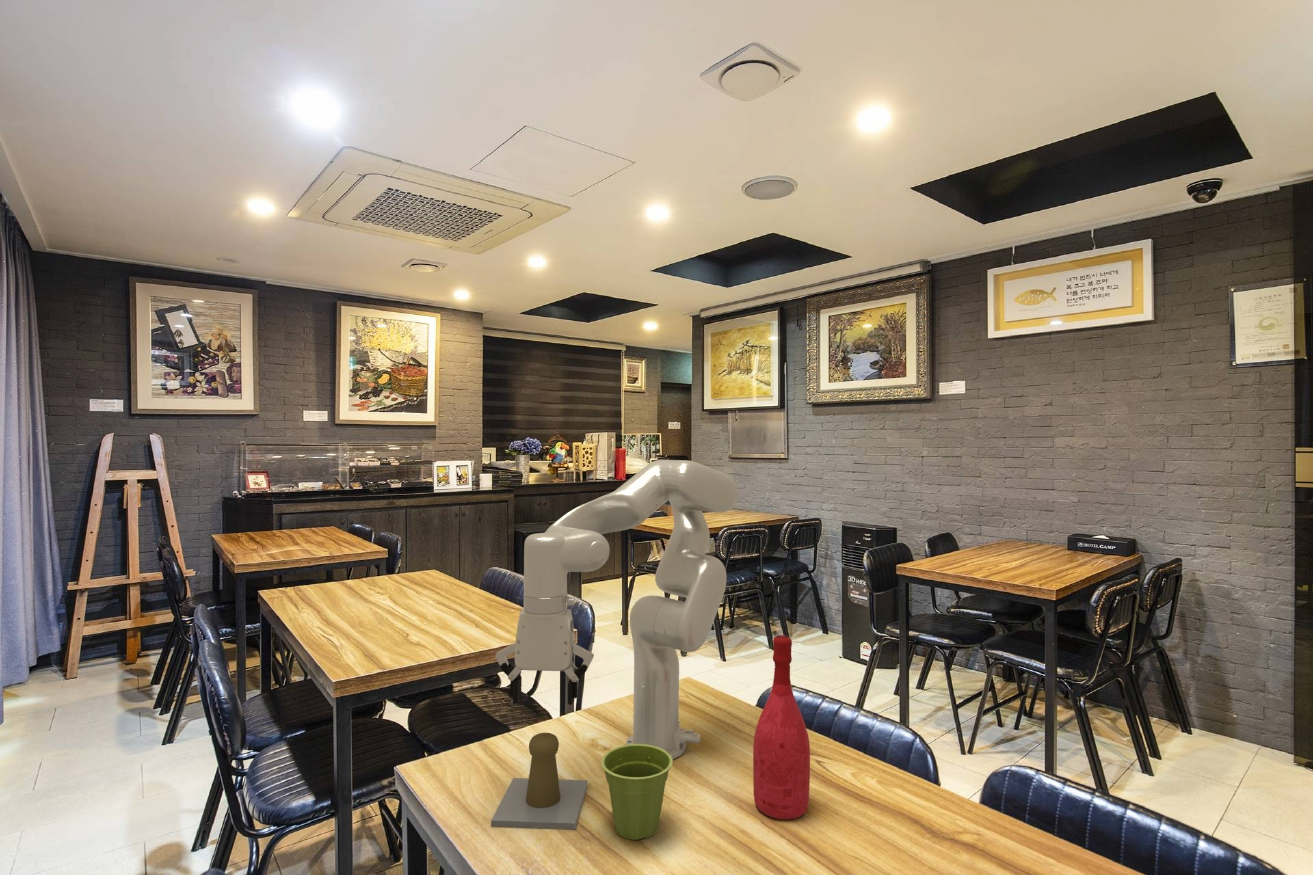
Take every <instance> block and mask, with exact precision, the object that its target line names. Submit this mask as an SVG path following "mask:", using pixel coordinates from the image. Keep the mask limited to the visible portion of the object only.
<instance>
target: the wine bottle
mask: <svg viewBox="0 0 1313 875" xmlns="http://www.w3.org/2000/svg"><path fill="white" fill-rule="evenodd" d="M772 643H773V644H772V645H773V655H772V661H773V662H774V672H773V681H772V687H771V691H770V694H769V696H768V699H767V701H766V703H765V705H764V707H763V709H762V711H761V713H760V716H759V719H758V721H757V724H756V727H755V732H754V735H753V736H754V738H753V746H752V747H753V751H752V752H753V754H752V757H753V758H752V761H753V762H752V766H753V767H752V768H753V769H752V771H753V772H752V775H753V776H752V778H753V780H752V781H753V800H754V804H755V806H756V808H757V809H758V810H759V811H760V812H762V814H764V815H765V816H768V817H771V818H772V819H773V818H774V819H779V820H792V819H793V820H794V819H797V818H800V817H801V816H803V815H805V813H806V812H807V810H808V809H809V808H808V807H809V800H810V784H811V782H810V777H811V774H810V773H811V745H810V738H809V735H808V730H807V726H806V722H805V721H804V720H805V719H804V718H803V715H802V713H801V710H800V707H799V706H798V703H797V701H796V698H795V696H794V692H793V691H794V690H793V687H792V682H791V663H792V660H793V658H792V657H793V656H792V645H793V640H792V638H791V637H790V636H788V635H785V634H779V635H775V636H774V637H773V640H772Z"/></svg>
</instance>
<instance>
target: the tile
mask: <svg viewBox="0 0 1313 875" xmlns="http://www.w3.org/2000/svg"><path fill="white" fill-rule="evenodd" d="M528 780H529V777H526V778H525V777H513V778H512V779H511V781H510V783H509V786H508V787H507V789H506V791H505V793H504V795H503V797H502V799H501V801H500V802H499V804H498V806H497V808H496V810H495V812H494V814H493V816H492V818H491V820H490V828H491V827H493V828H494V827H495V828H518V829H519V828H520V829H521V828H522V829H547V830H549V829H550V830H572V831H573V830H576V827H577V825H578V821H579V818H580V817H579V816H580V814H581V810H582V807H583V803H584V800H585V796H586V793H587V790H588V784H589V783H588V781H589V780H587V779H586V780H585V779H559V778H558V781H559V790H560V801H559V802H558V803H557V804H555V805H553V806H550V807H547V808H535V807H531V806H529V805H528V804H527V803H526V794H527V787H528Z"/></svg>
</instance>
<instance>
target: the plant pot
mask: <svg viewBox="0 0 1313 875" xmlns="http://www.w3.org/2000/svg"><path fill="white" fill-rule="evenodd" d="M600 760H601V761H600V763H601V767H602V769H603V770H604V772H605V777H606V781H607V784H608V790H609V791H608V792H609V797H610V802H611V810H612V815H613V823H614V828H615V831H616V832H617V834H618V835H619V836H621V837H623V838H625V839H628V840H632V841H638V840H641V839H643V838H648V839H649V838H651V837H653V836H654V835H656V833H657V831H659V827H660V826H659V825H660V820H661V815H662V807H663V801H664V795H665V794H664V793H665V787H666V782H667V780H668V777H669V771H670V769H671V768H672V765H673V762H674V759H672V757H671V755H670V754H669V753H668V752H667V751H665V750H663V749H661V748H659V747H656V746H652V745H646V744H630V745H626V744H623V745H620V746H616V747H614V748H612V749H610V750H608V751H607V752H606V753H604V755H603V756H602V757H601V759H600Z"/></svg>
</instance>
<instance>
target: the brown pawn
mask: <svg viewBox="0 0 1313 875" xmlns="http://www.w3.org/2000/svg"><path fill="white" fill-rule="evenodd" d="M559 746H560V743H559V738H558V737H557V735H556V734H553V733H551V732H538V733H537V734H534V735H533V736H531V738H530V740H529V743H528V750H529V754H530V756H531V760H530V766H529V774H528V778H529V780H528V787H527V794H526V803H527V804H528V805H529V806H531V807H535V808H547V807H550V806H553V805H555V804H557V803H558V802H559V801H560V790H559V781H558V779H559V774H558V766H557V765H558V764H557V756H556V754H557V753H558V751H559Z"/></svg>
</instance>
